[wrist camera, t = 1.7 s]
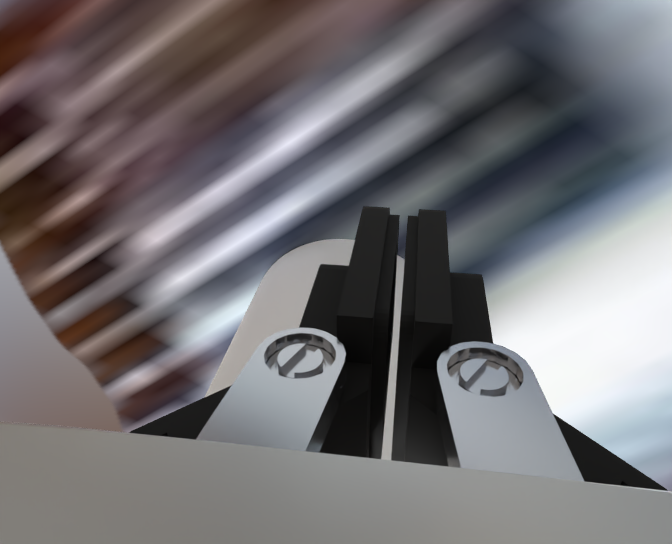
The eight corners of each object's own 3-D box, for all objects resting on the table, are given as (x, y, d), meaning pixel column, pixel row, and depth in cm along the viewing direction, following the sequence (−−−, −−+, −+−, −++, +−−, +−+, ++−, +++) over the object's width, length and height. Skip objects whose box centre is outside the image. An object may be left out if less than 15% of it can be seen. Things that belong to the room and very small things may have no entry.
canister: (368, 419, 46) (332, 705, 29) (223, 333, 43) (90, 589, 26) (480, 310, 39) (520, 598, 22) (316, 201, 37) (219, 431, 20)
